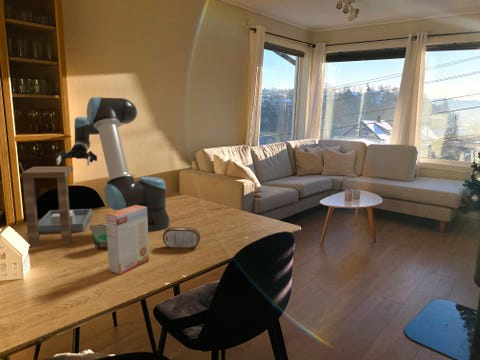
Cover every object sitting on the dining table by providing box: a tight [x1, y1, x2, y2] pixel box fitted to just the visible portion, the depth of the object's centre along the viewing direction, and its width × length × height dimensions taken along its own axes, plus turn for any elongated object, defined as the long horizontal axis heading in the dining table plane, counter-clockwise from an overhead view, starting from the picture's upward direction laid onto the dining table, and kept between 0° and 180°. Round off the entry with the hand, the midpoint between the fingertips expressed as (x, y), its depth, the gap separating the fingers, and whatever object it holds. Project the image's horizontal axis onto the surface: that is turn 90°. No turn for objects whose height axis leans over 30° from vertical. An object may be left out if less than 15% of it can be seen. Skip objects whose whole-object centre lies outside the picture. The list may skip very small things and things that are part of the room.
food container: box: [89, 222, 108, 251], centre depth 142 cm, size 12×6×10 cm, turn 117°
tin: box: [162, 226, 201, 249], centre depth 145 cm, size 15×3×8 cm, turn 92°
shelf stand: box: [21, 165, 74, 248], centre depth 146 cm, size 14×15×30 cm
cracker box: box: [105, 205, 150, 276], centre depth 126 cm, size 14×6×21 cm, turn 150°
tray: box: [38, 208, 93, 234], centre depth 169 cm, size 24×20×4 cm
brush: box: [51, 209, 75, 225], centre depth 169 cm, size 16×9×5 cm, turn 13°
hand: (73, 162), depth 174 cm, fingers open, 13 cm apart
